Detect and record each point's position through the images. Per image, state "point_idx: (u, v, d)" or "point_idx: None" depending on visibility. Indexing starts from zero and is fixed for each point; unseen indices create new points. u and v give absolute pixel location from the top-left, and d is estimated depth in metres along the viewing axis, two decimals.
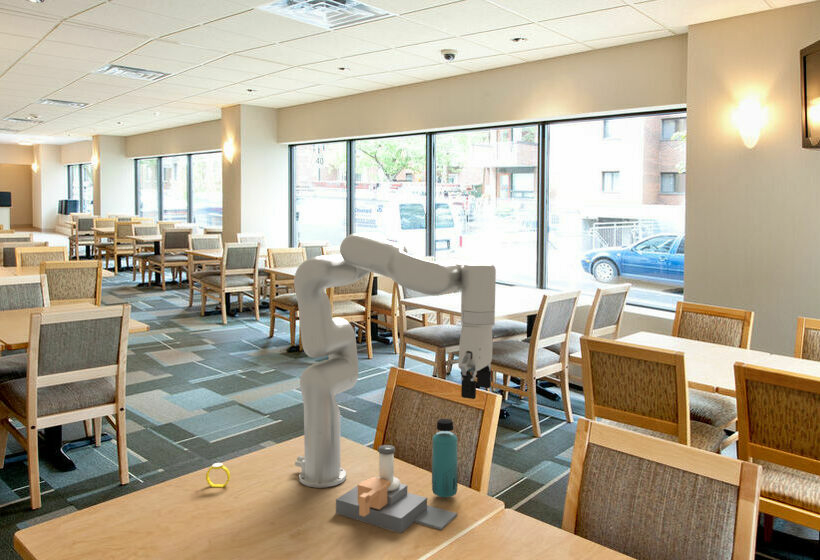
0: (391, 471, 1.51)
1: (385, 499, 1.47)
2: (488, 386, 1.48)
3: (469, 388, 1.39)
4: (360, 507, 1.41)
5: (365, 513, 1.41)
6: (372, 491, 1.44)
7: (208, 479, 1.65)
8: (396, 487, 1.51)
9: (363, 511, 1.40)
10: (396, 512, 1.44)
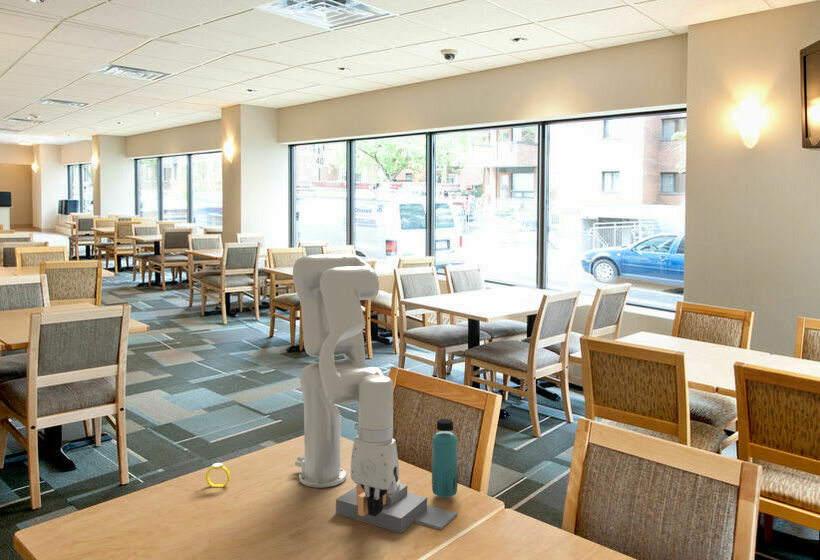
0: None
1: (384, 499, 1.47)
2: None
3: (382, 503, 1.40)
4: (359, 507, 1.41)
5: (364, 513, 1.41)
6: None
7: (208, 479, 1.65)
8: None
9: (362, 511, 1.40)
10: (396, 512, 1.44)
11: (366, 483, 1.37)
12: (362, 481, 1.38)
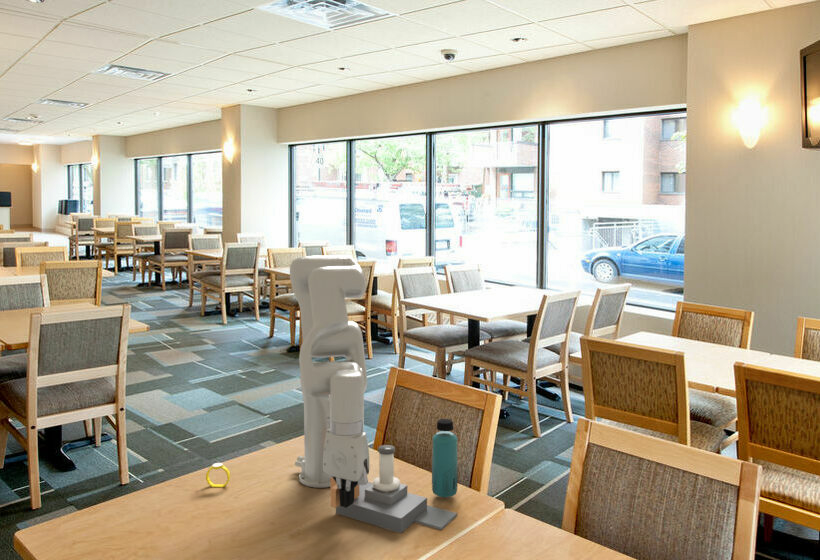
0: (391, 471, 1.51)
1: (357, 491, 1.51)
2: None
3: (353, 494, 1.43)
4: (331, 499, 1.45)
5: (336, 504, 1.45)
6: None
7: (208, 479, 1.65)
8: (396, 487, 1.51)
9: (334, 502, 1.44)
10: (396, 512, 1.44)
11: (337, 475, 1.41)
12: (333, 473, 1.41)
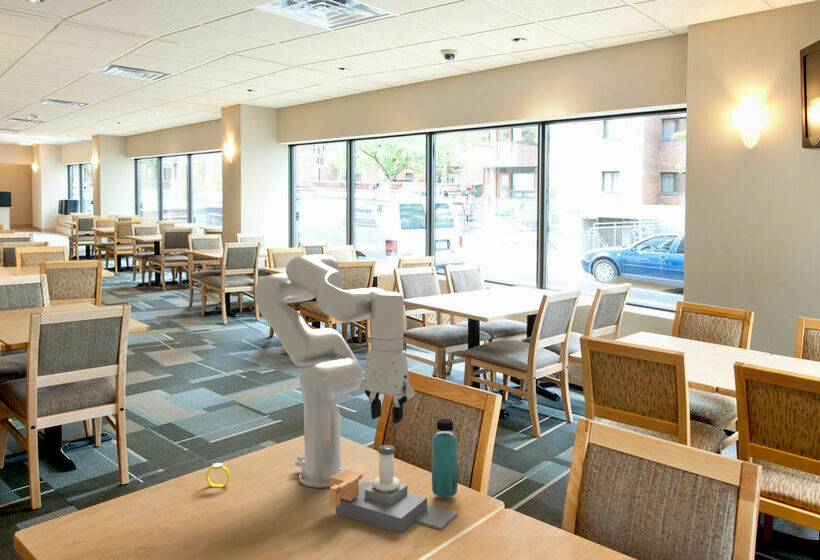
0: (391, 471, 1.51)
1: (356, 491, 1.51)
2: (380, 414, 1.53)
3: (402, 411, 1.49)
4: (331, 498, 1.45)
5: (336, 504, 1.45)
6: (343, 483, 1.48)
7: (208, 479, 1.65)
8: (396, 487, 1.51)
9: (334, 502, 1.44)
10: (396, 512, 1.44)
11: (378, 390, 1.48)
12: (374, 389, 1.49)
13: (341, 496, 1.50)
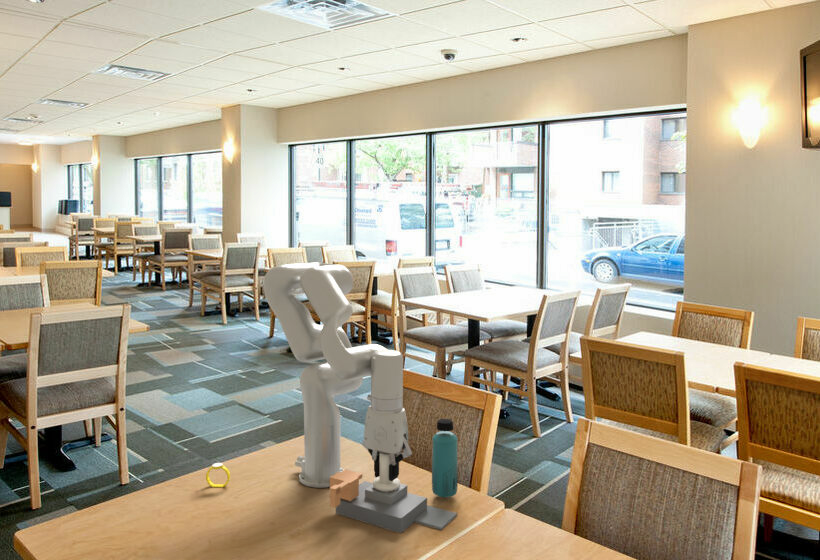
0: None
1: (356, 491, 1.51)
2: None
3: (398, 469, 1.51)
4: (331, 498, 1.45)
5: (336, 504, 1.45)
6: (343, 483, 1.48)
7: (208, 479, 1.65)
8: (396, 487, 1.51)
9: (334, 502, 1.44)
10: (396, 512, 1.44)
11: (378, 448, 1.50)
12: (374, 447, 1.50)
13: (341, 496, 1.50)
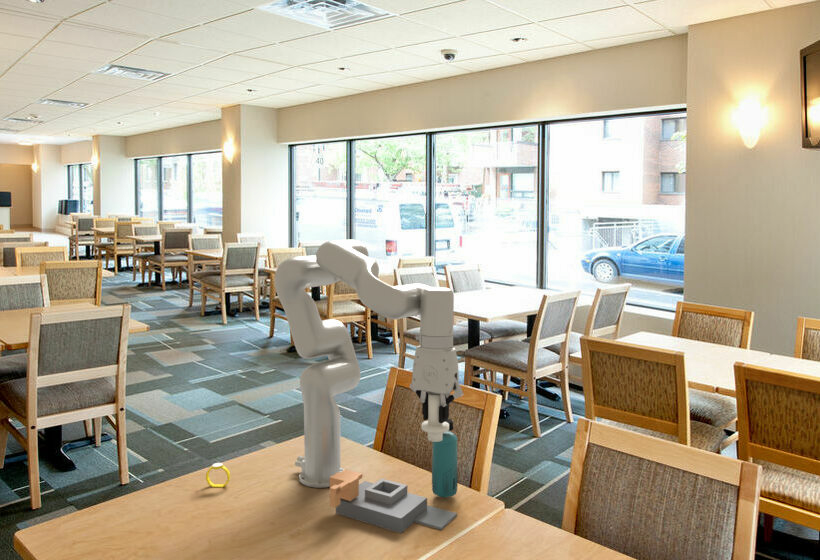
0: None
1: (356, 491, 1.51)
2: None
3: (448, 411, 1.45)
4: (331, 498, 1.45)
5: (336, 504, 1.45)
6: (343, 483, 1.48)
7: (208, 479, 1.65)
8: (446, 430, 1.45)
9: (334, 502, 1.44)
10: (396, 512, 1.44)
11: (428, 389, 1.43)
12: (423, 388, 1.44)
13: (341, 496, 1.50)
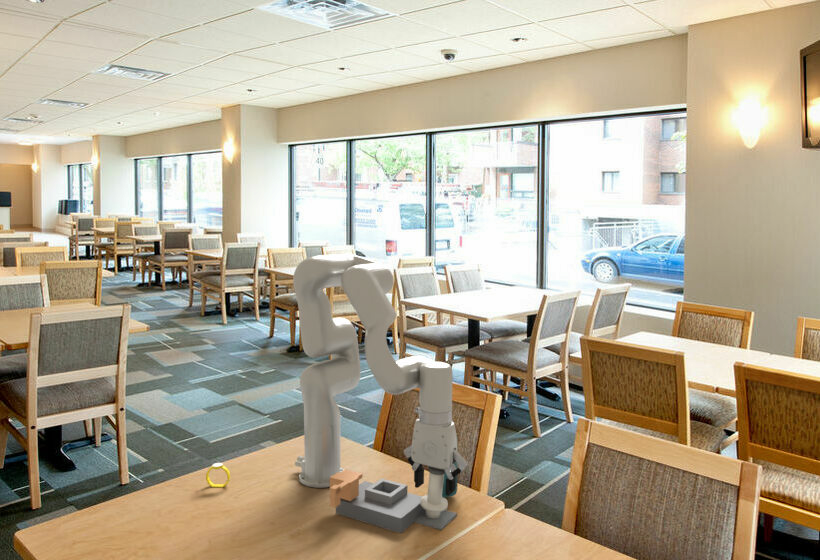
0: (440, 492, 1.47)
1: (356, 491, 1.51)
2: (423, 482, 1.51)
3: (455, 483, 1.46)
4: (331, 498, 1.45)
5: (336, 504, 1.45)
6: (343, 483, 1.48)
7: (208, 479, 1.65)
8: (444, 508, 1.47)
9: (334, 502, 1.44)
10: (396, 512, 1.44)
11: (427, 463, 1.45)
12: (423, 462, 1.46)
13: (341, 496, 1.50)
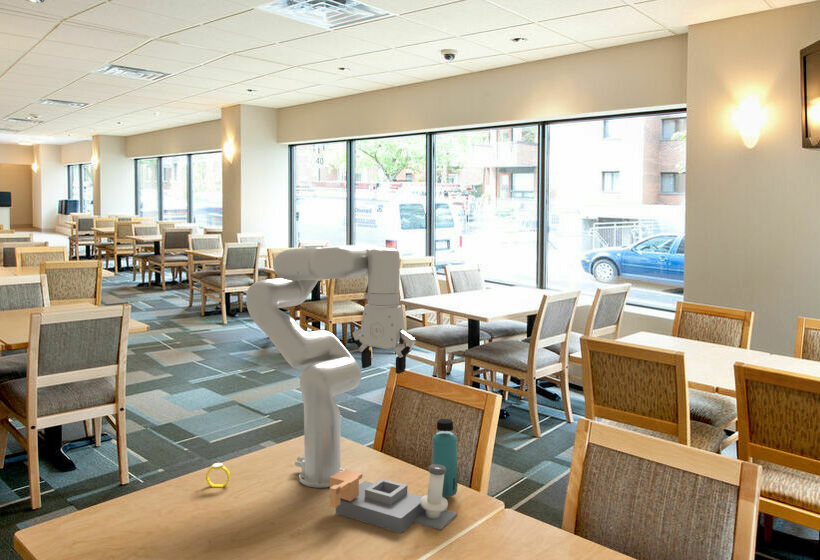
0: (440, 492, 1.47)
1: (356, 491, 1.51)
2: (370, 364, 1.57)
3: (405, 362, 1.51)
4: (331, 498, 1.45)
5: (336, 504, 1.45)
6: (343, 483, 1.48)
7: (208, 479, 1.65)
8: (444, 508, 1.47)
9: (334, 502, 1.44)
10: (396, 512, 1.44)
11: (375, 344, 1.51)
12: (371, 343, 1.52)
13: (341, 496, 1.50)
